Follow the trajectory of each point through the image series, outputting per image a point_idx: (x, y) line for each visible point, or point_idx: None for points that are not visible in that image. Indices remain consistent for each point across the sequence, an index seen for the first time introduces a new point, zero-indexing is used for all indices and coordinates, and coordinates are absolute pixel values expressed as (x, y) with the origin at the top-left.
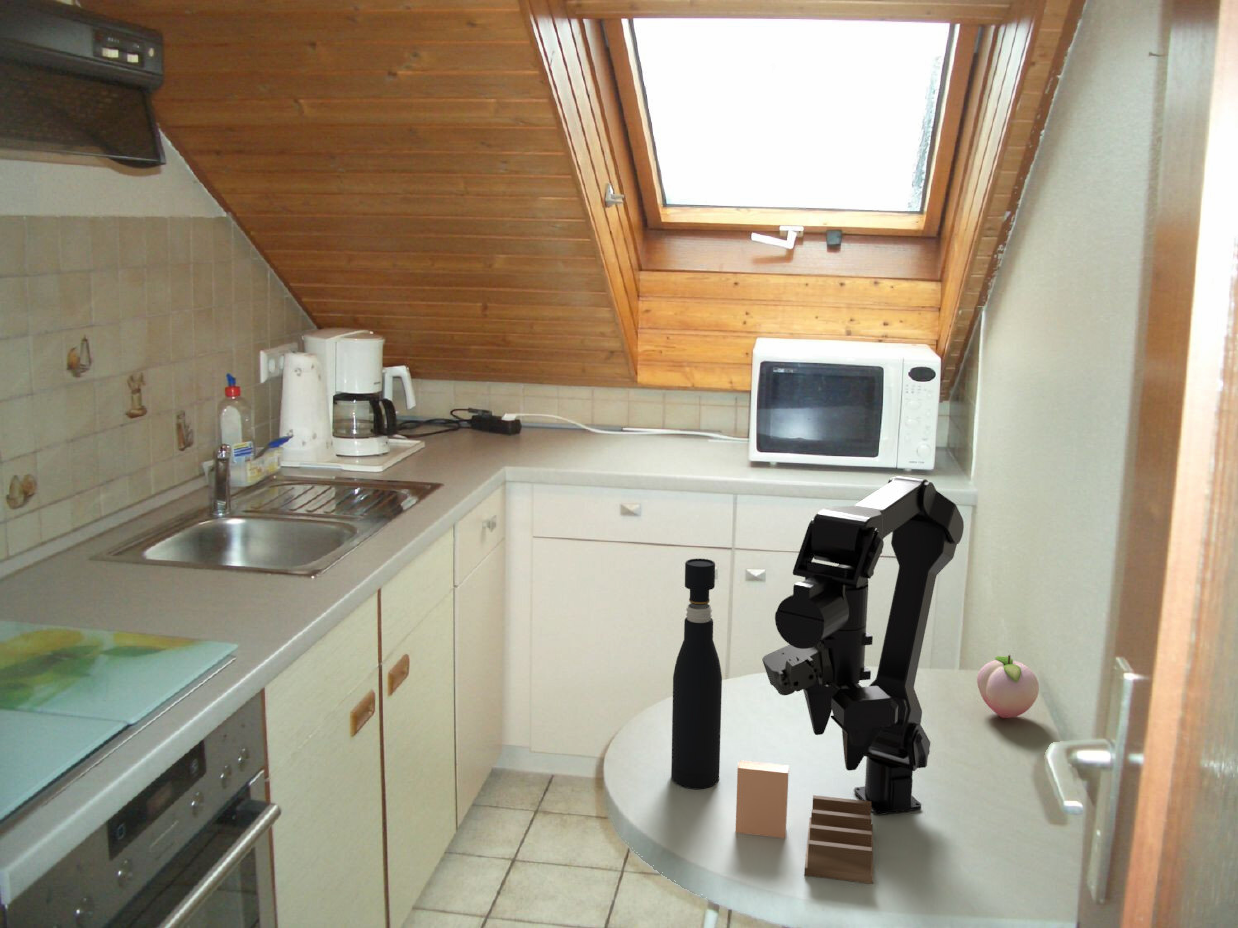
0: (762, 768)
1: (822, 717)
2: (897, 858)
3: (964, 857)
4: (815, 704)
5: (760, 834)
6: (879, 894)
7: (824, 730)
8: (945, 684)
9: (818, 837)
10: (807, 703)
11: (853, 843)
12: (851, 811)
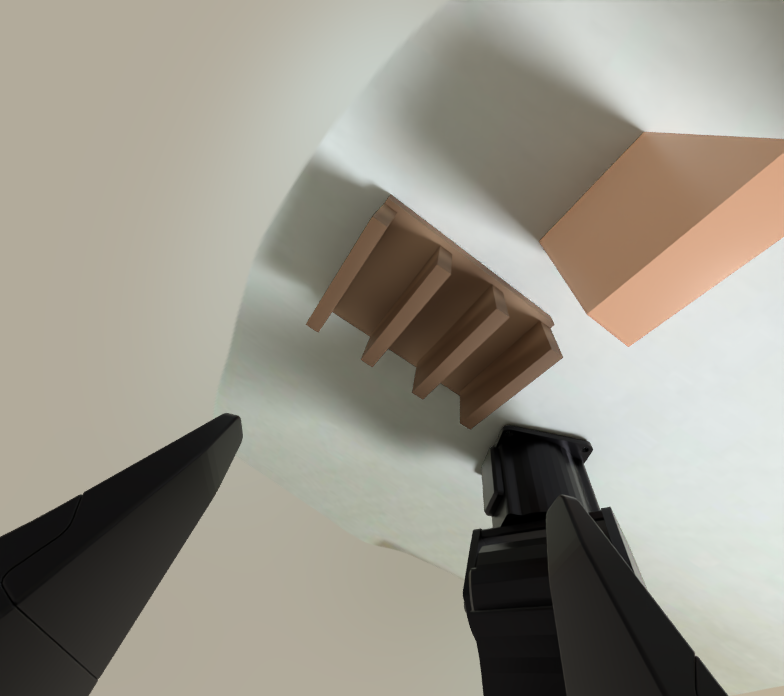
0: (688, 249)
1: (568, 596)
2: (380, 373)
3: (351, 440)
4: (628, 686)
5: (586, 192)
6: (295, 288)
7: (547, 531)
8: (732, 671)
9: (425, 272)
10: (697, 674)
11: (383, 324)
12: (485, 388)
